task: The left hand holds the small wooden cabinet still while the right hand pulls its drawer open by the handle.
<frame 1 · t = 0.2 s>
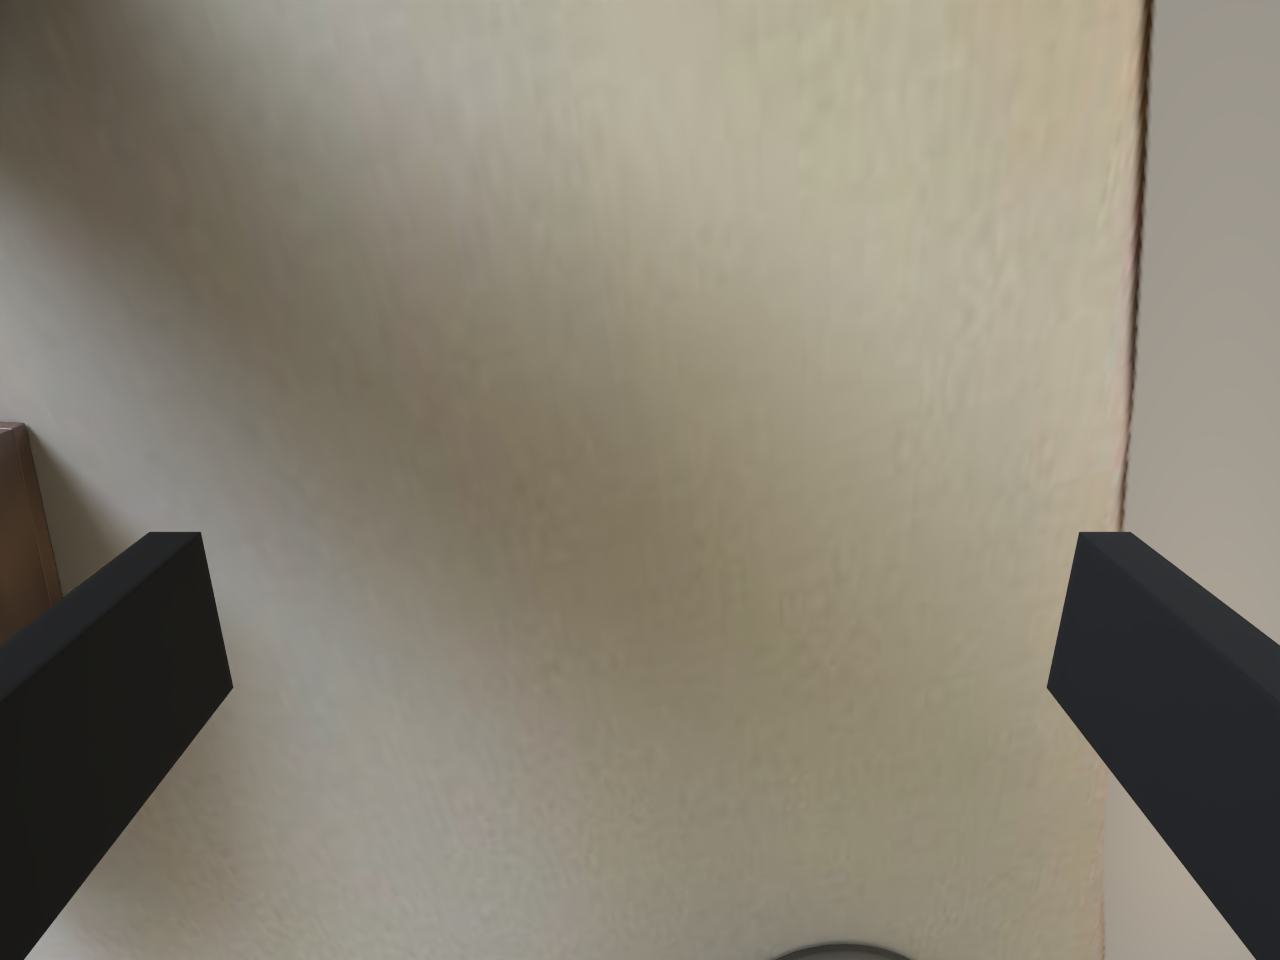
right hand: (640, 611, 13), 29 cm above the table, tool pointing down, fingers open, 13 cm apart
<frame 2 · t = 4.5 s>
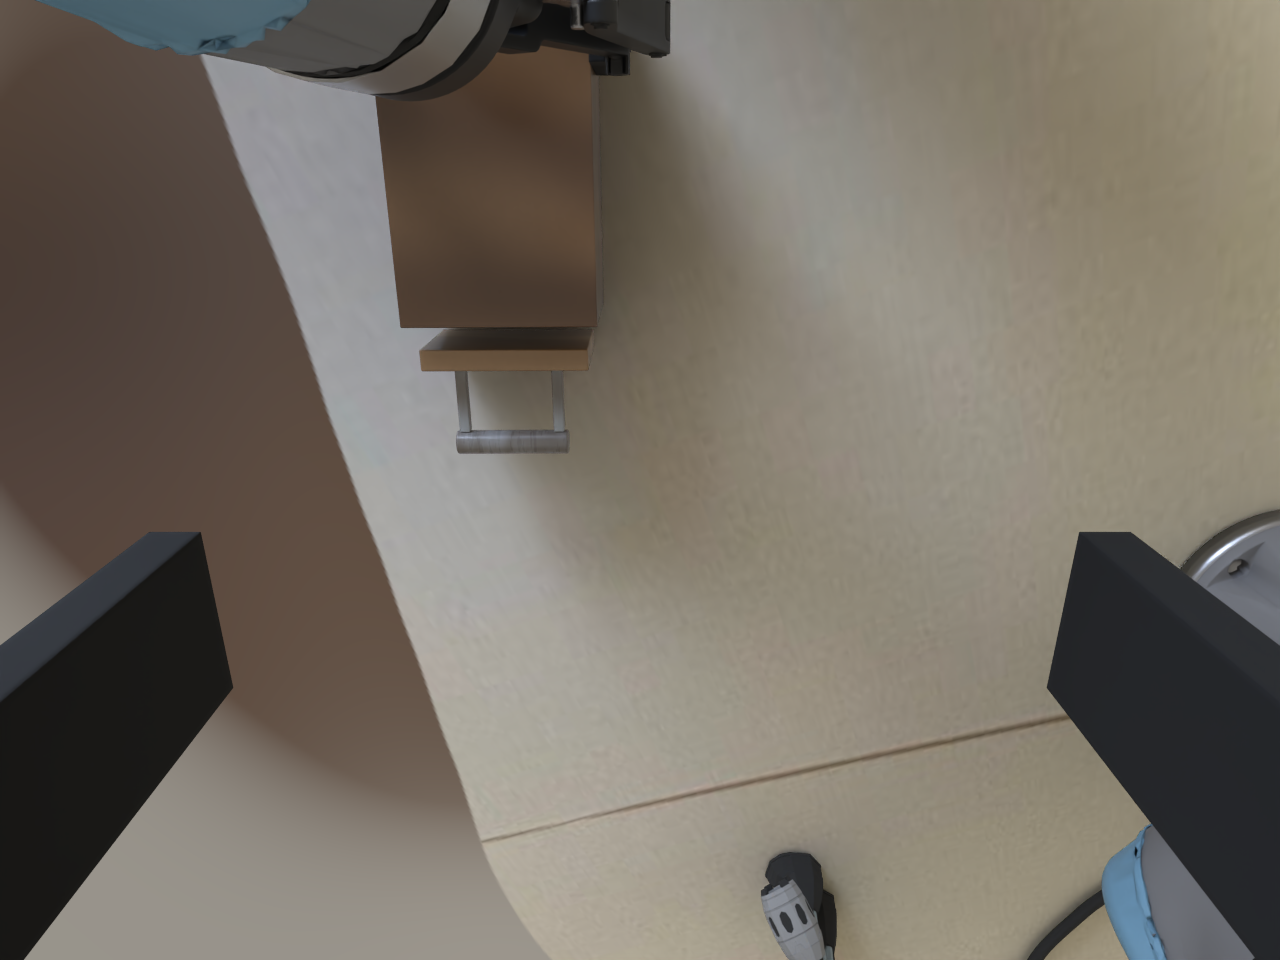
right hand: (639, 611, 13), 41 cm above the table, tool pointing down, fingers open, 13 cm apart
cabinet: (510, 141, 48), on the table, touching left hand
robot: (801, 885, 68), on the table
drawer: (505, 252, 47), point 4 cm above the table, slide at 1.4 cm
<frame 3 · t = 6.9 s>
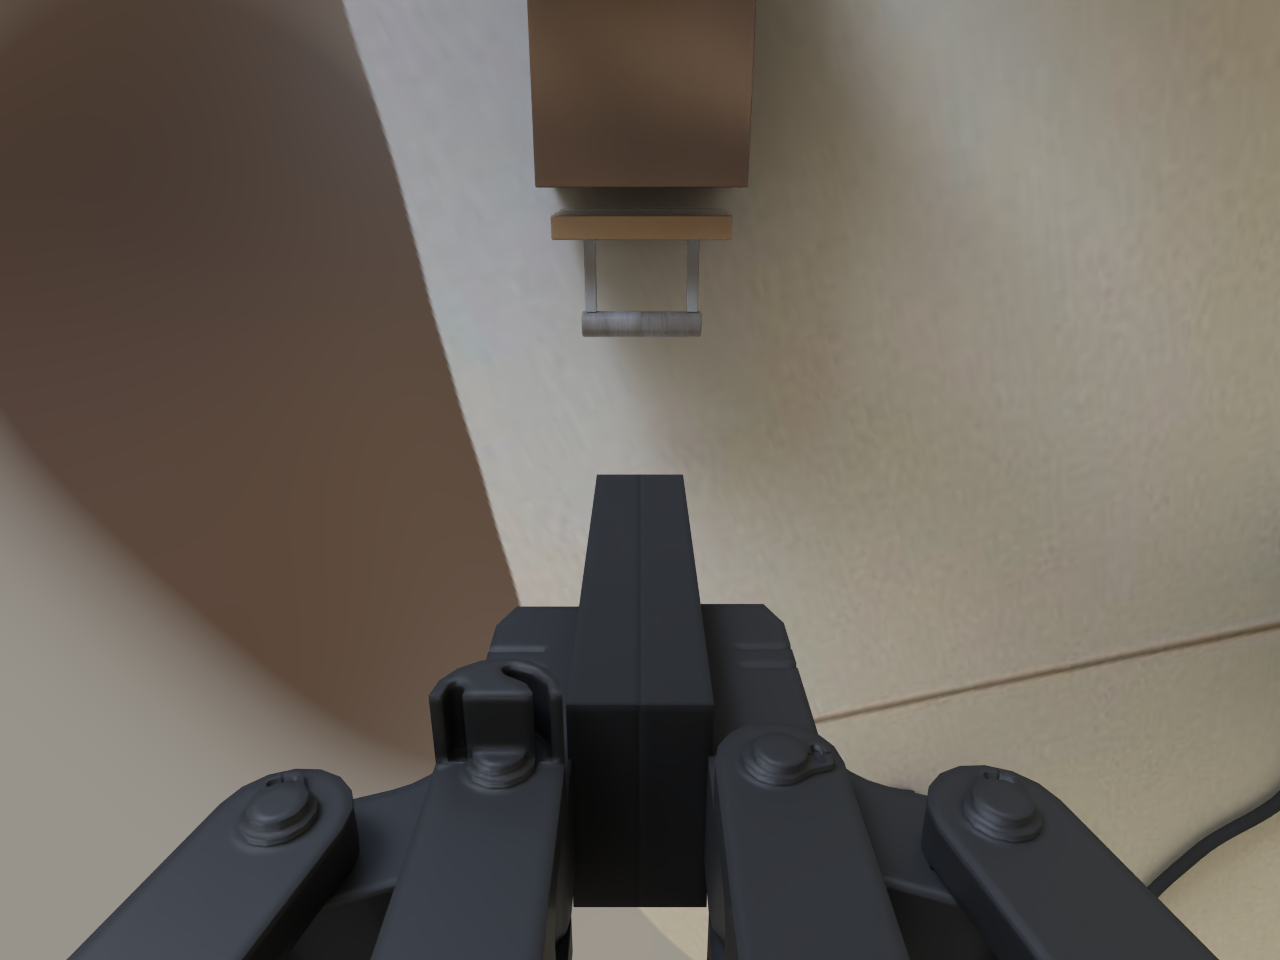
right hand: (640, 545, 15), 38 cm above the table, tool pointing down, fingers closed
drawer: (641, 113, 43), point 4 cm above the table, slide at 1.4 cm
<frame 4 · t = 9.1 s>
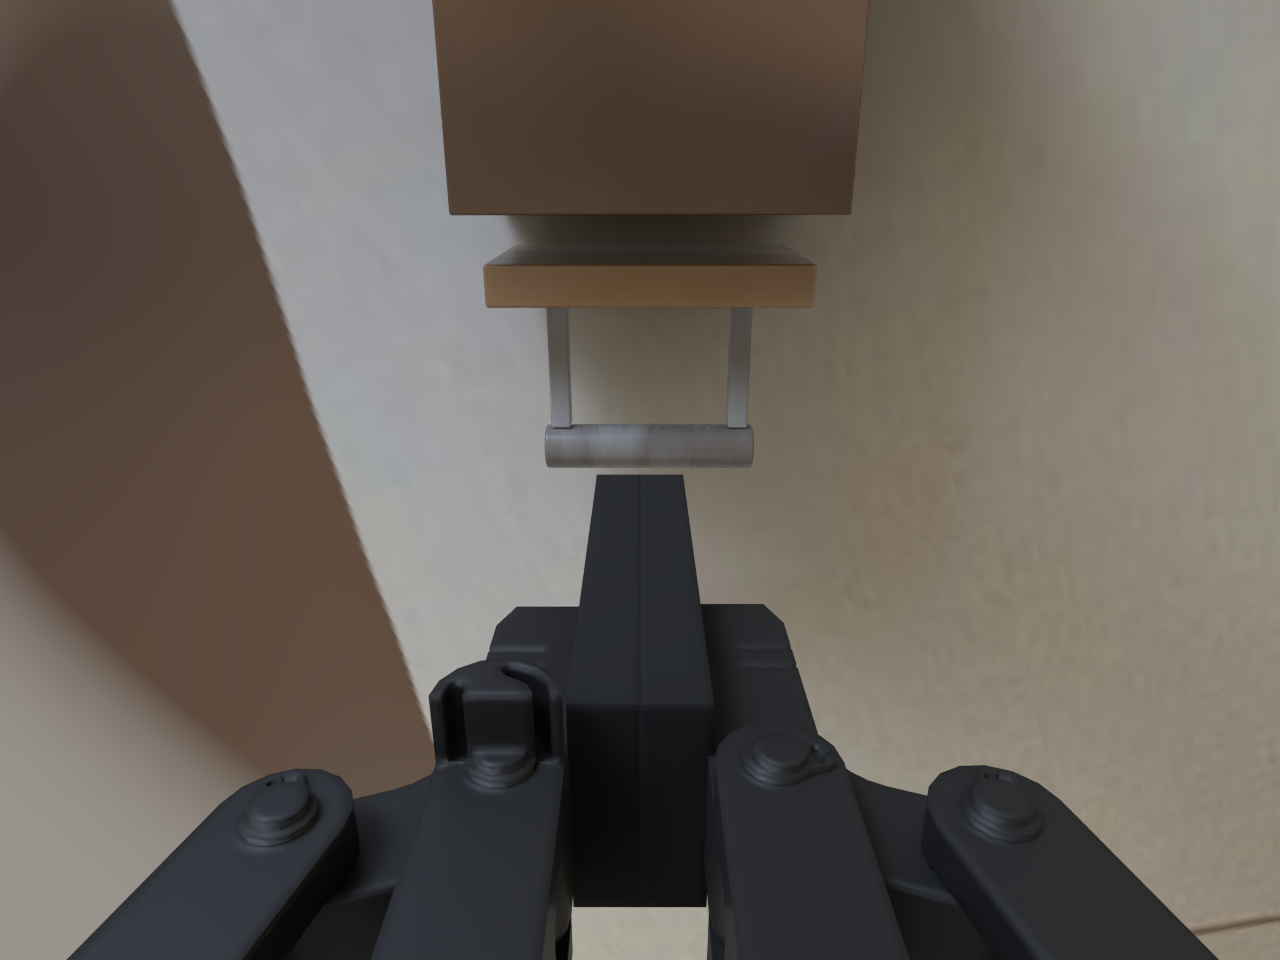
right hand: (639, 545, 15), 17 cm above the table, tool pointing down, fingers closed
drawer: (649, 79, 24), point 4 cm above the table, slide at 1.4 cm
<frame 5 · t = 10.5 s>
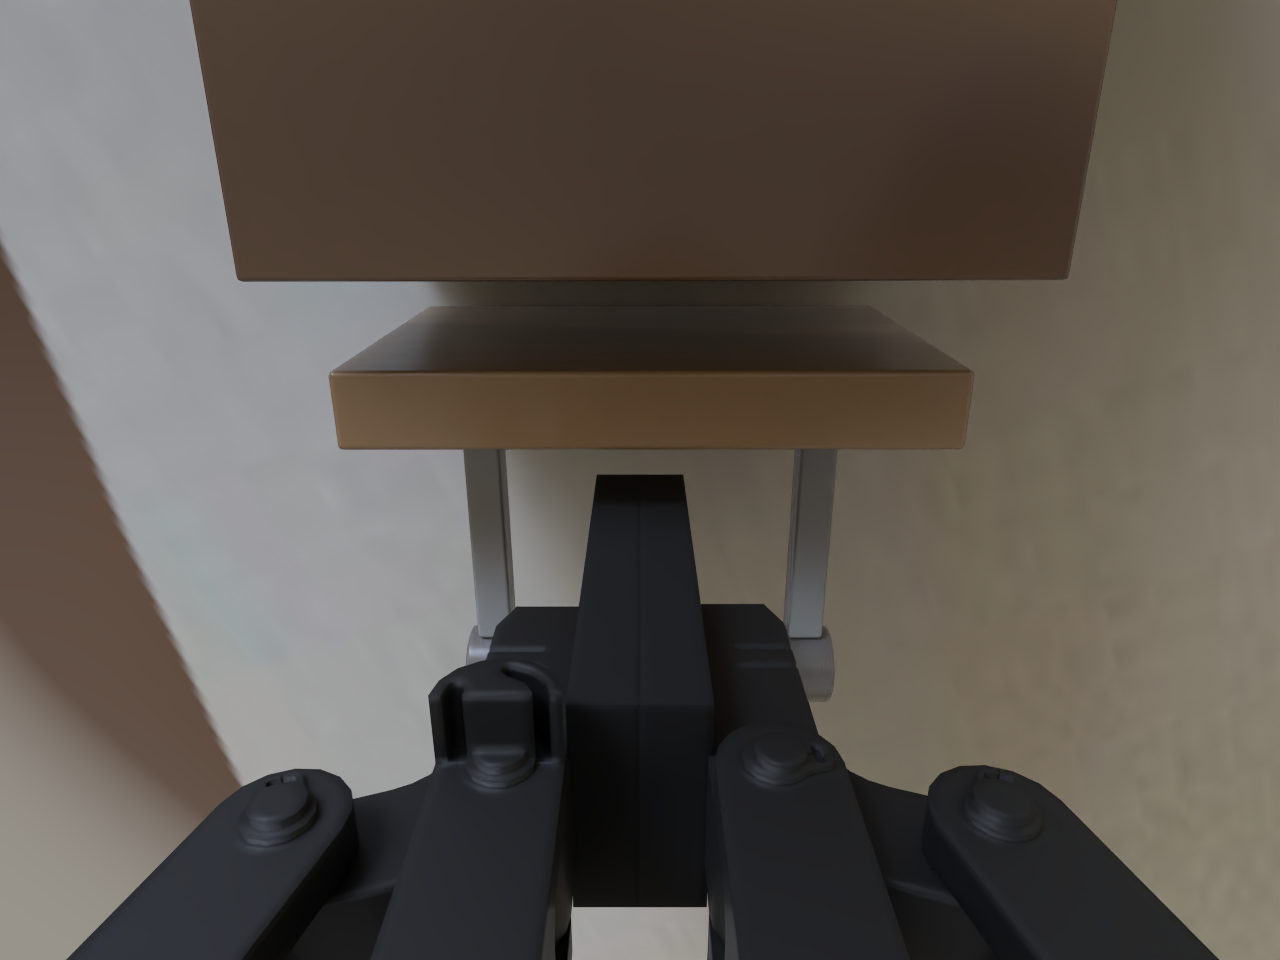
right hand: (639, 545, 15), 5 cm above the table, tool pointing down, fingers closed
drawer: (650, 18, 13), point 4 cm above the table, slide at 1.4 cm, touching right hand
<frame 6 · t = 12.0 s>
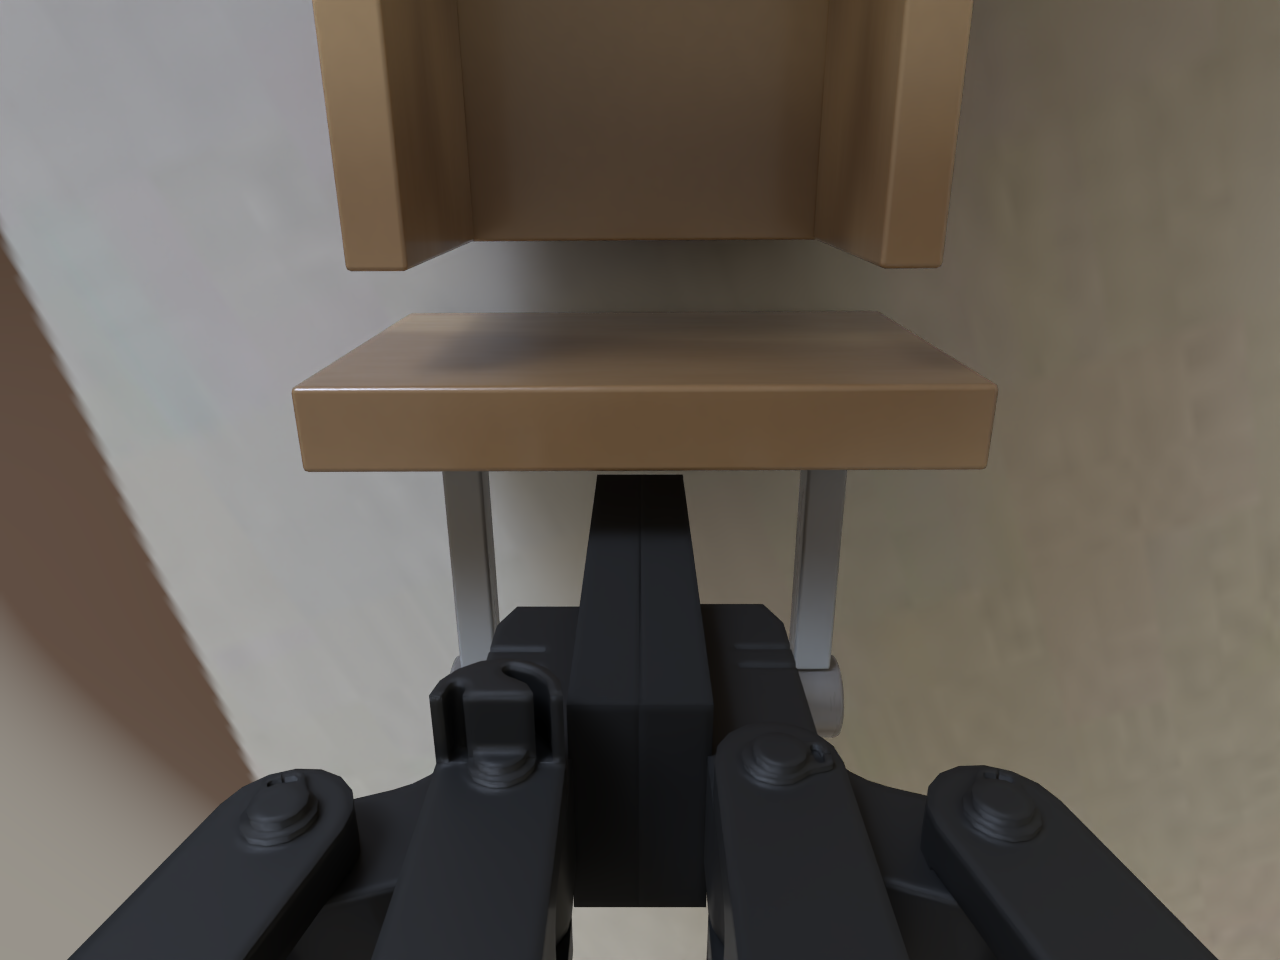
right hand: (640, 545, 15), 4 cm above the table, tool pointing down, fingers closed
drawer: (642, 1, 12), point 4 cm above the table, slide at 7.9 cm, touching right hand
when the left hand's fingers open (3 cm above the table, at t = 13.7 s): cabinet stays where it is, on the table.
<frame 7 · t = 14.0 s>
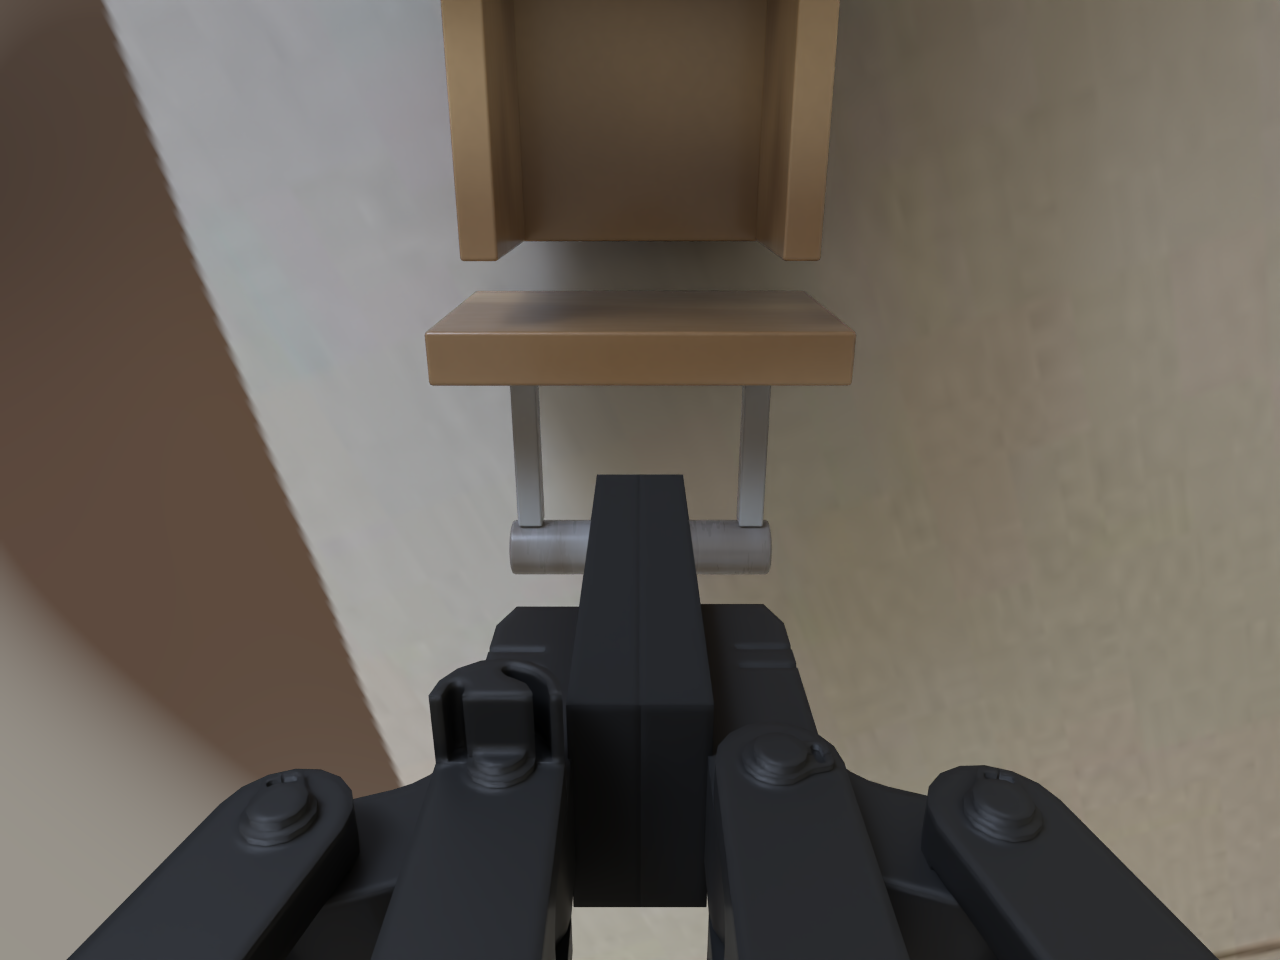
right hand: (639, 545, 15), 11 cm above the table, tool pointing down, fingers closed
drawer: (640, 91, 19), point 4 cm above the table, slide at 7.9 cm
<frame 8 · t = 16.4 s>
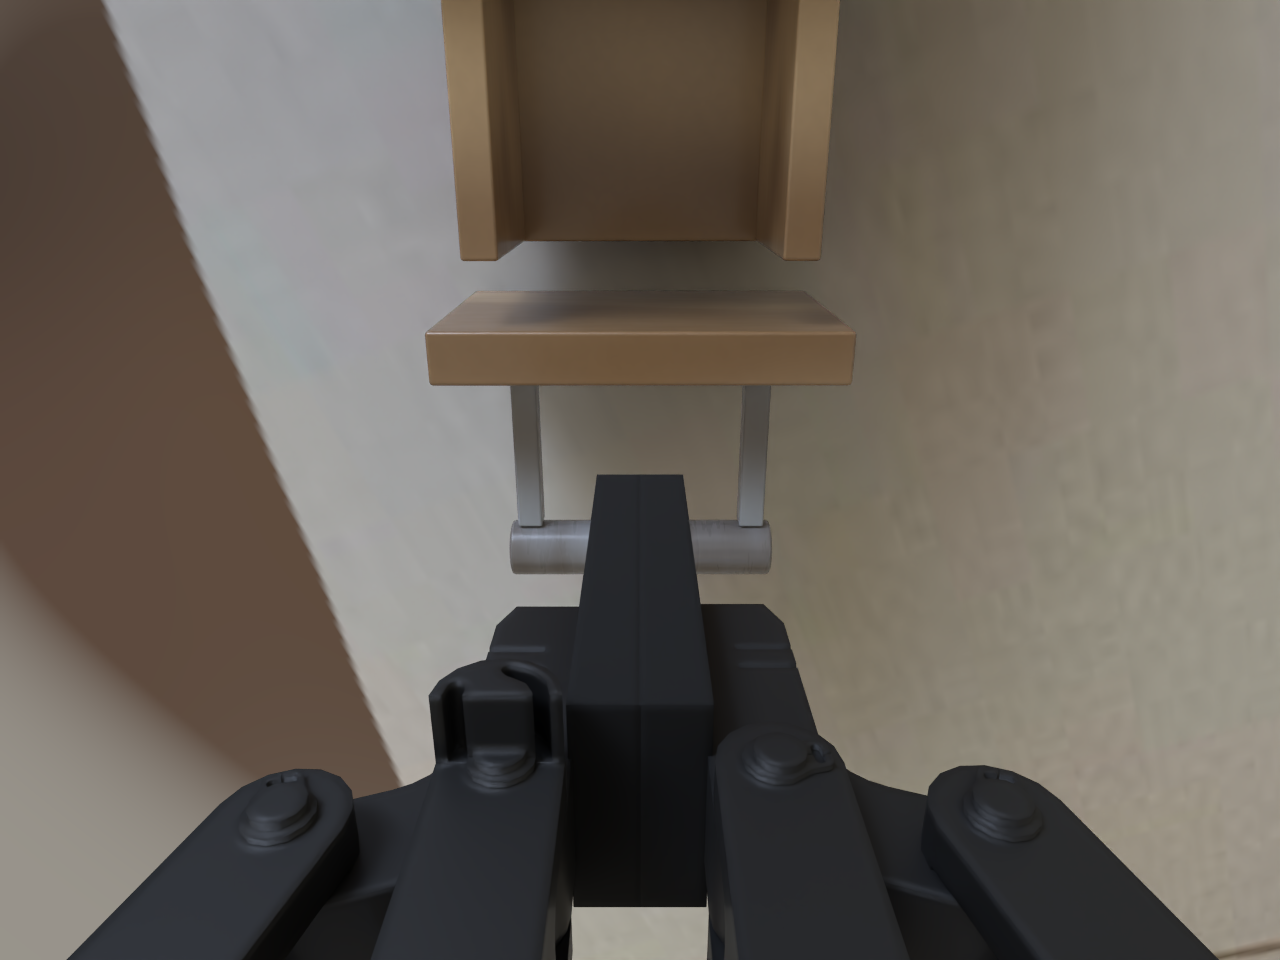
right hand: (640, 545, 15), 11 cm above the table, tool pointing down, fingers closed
drawer: (640, 91, 19), point 4 cm above the table, slide at 7.9 cm
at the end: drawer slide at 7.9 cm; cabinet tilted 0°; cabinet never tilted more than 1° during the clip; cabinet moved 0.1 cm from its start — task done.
